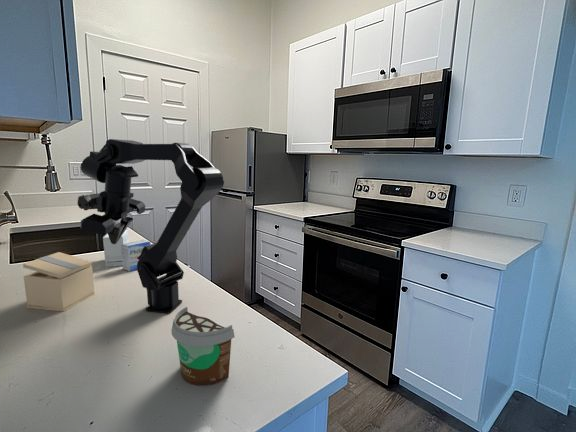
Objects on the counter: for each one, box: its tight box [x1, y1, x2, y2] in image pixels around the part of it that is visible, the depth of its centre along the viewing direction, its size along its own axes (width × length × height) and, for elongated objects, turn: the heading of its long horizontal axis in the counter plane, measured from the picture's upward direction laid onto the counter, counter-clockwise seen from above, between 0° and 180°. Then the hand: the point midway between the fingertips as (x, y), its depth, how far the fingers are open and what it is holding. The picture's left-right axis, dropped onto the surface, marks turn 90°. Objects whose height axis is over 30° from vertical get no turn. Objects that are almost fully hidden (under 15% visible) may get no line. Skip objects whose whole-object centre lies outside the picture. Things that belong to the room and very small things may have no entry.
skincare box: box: [102, 229, 131, 268], centre depth 113 cm, size 10×6×10 cm, turn 15°
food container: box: [170, 306, 235, 387], centre depth 55 cm, size 12×6×10 cm, turn 56°
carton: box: [23, 265, 95, 312], centre depth 82 cm, size 10×10×8 cm
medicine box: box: [121, 239, 152, 272], centre depth 108 cm, size 8×4×9 cm, turn 143°
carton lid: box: [22, 251, 93, 278], centre depth 81 cm, size 10×10×1 cm
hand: (113, 243), depth 87 cm, fingers closed
